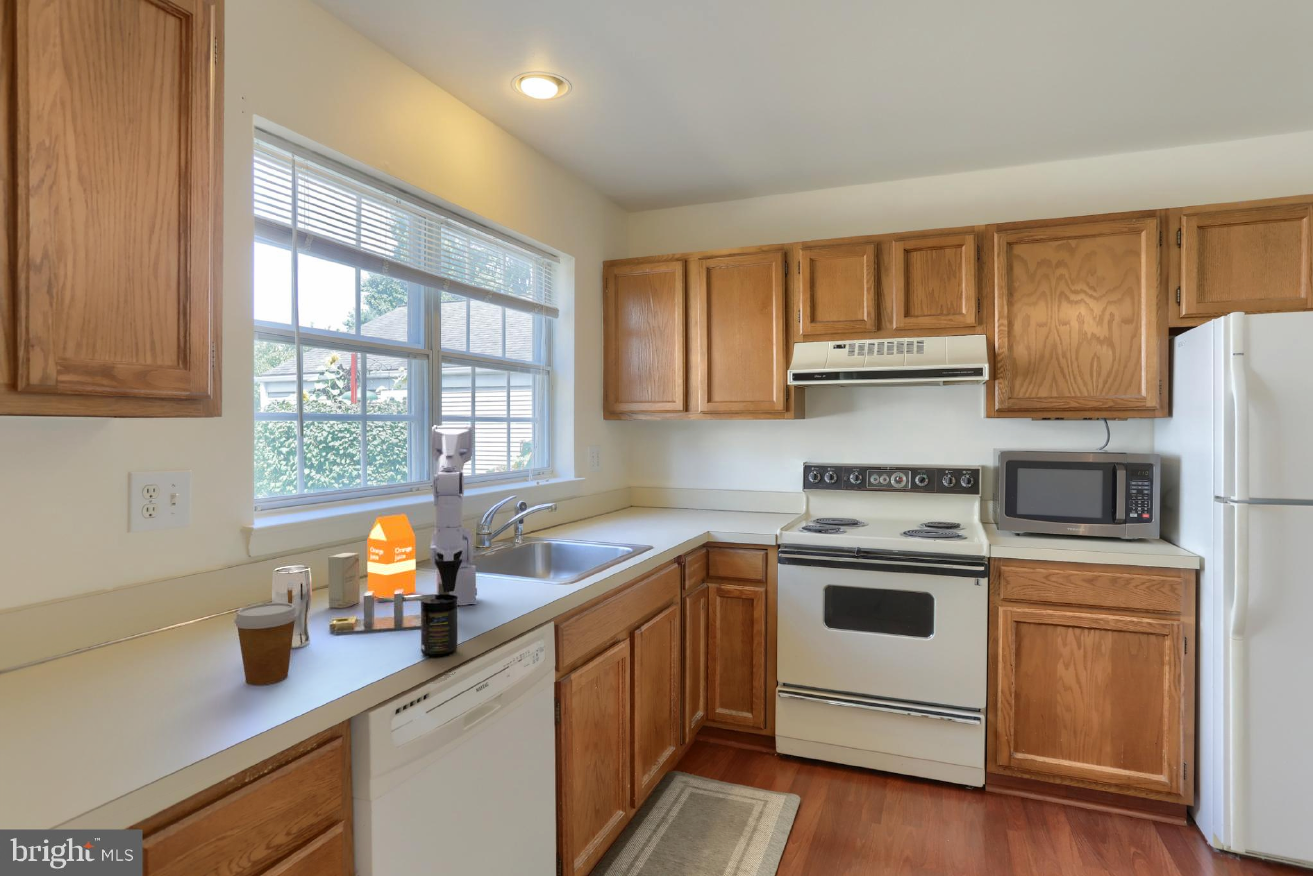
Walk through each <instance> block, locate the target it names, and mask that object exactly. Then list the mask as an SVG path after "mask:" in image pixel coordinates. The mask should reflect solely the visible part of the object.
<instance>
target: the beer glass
mask: <svg viewBox="0 0 1313 876" xmlns="http://www.w3.org/2000/svg"><path fill="white" fill-rule="evenodd" d="M311 573H312V572H311V567H310V566H309V565H293V566H292V565H291V566H283V567H279V568H275V569H273V570H272V583H271V584H272V585H271V597H272V598H271V599H272V603H290V604H293V605H294V606H295V609H296V611H297V612H298V615H297V616H296V619H295V622H294V631H293V639H292V647H291V650H294V649H299V648H303V647H306V646H307V645H309V644H310V642H311V639H310V634H309V629H308V627H309V626H308V624H309V623H308V621H309V615H310V609H311V602H312V593H313V583H312V582H313V581H312V574H311Z"/></svg>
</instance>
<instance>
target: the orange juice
mask: <svg viewBox="0 0 1313 876" xmlns="http://www.w3.org/2000/svg"><path fill="white" fill-rule="evenodd" d="M366 564H367V591H374V597H375V596H376V598H380V597H394V593H395V590H398V589H403V594H405V595H408V594H412V593H411V592H413V593H416V535H415V533H414V531H413V529H412V526H411V524H410V522H409V519H408V517H407V515H406V514H405V513H403V514H395V515H387V516H381V517H380V516H379V517H376V520H375V522H374V524H373V526H372V529H371V530H370V533H369V535H368V537H367V563H366Z"/></svg>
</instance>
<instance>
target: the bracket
mask: <svg viewBox="0 0 1313 876" xmlns="http://www.w3.org/2000/svg"><path fill="white" fill-rule="evenodd" d="M402 596H404V595H403V589H398V590H395V593H394V602H393V616H386V617H385V616H384V617H382V616H381V617H375V596H374V591H368V590H366V591H365V592H364V595H363V618H357V623H356V625H355V627H354V628H349V629H336V630H335V632H334V636H339V635H340V636H341V635H343V636H344V635H354V634H353V633H356V634H367V633H379V632H381V631H383V632H392V631H407V630H406V629H409V630H421V614H414V615H413V614H412V615H404V602H402Z"/></svg>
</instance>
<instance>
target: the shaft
mask: <svg viewBox="0 0 1313 876" xmlns="http://www.w3.org/2000/svg"><path fill="white" fill-rule="evenodd" d="M441 594H448V595H450V592H444V590H443V586H442V582H439V583H438V594H437V593H433V594H431V593H430V594H417V595H403V596H402V602H403V603H405V602H406V603H407V602H421V599H422V598H424V597H427V596H432V595H441ZM377 601H378V604H388V603H389V604H390V603H393V604H394V597H382V598H380V597H378V600H377Z"/></svg>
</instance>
